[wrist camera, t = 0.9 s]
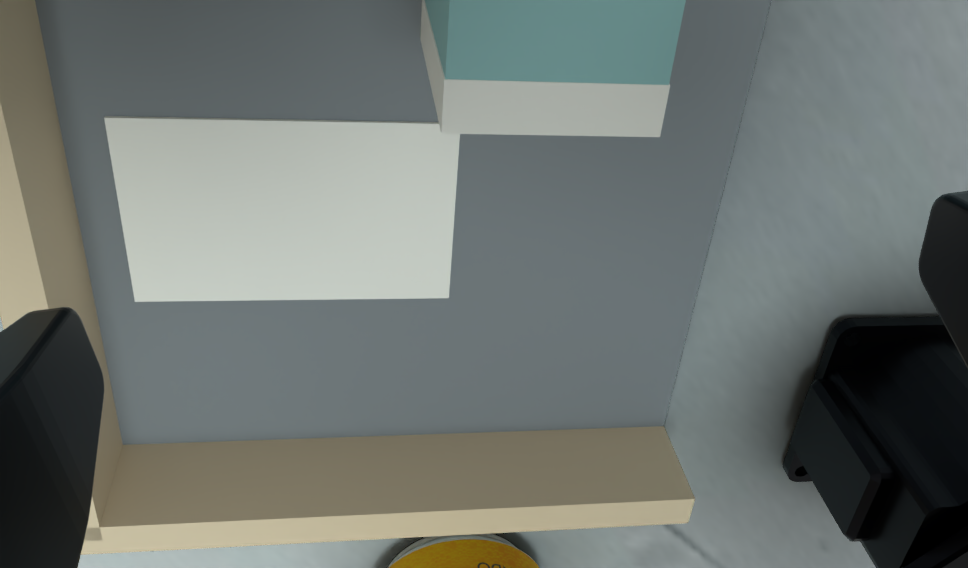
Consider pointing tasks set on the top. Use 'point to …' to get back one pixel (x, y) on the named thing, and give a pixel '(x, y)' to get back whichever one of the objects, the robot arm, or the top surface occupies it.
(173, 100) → the board
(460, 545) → the beer can
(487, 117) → the teal block
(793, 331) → the top surface
